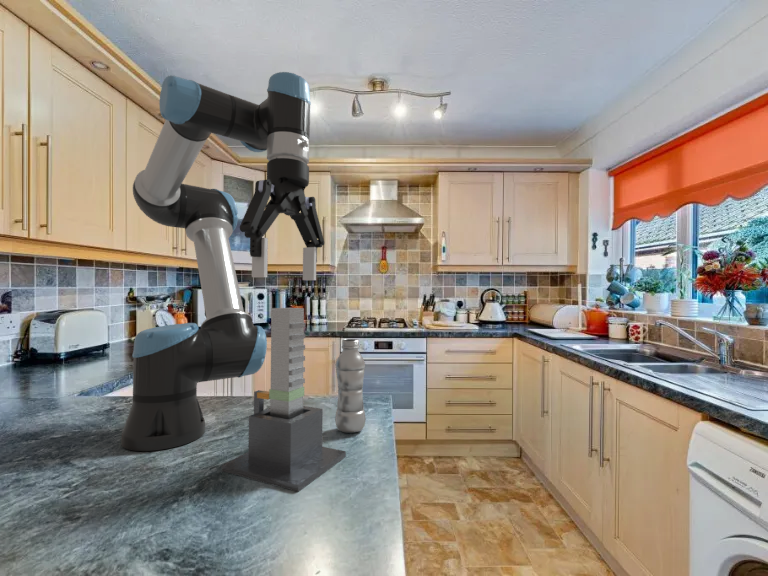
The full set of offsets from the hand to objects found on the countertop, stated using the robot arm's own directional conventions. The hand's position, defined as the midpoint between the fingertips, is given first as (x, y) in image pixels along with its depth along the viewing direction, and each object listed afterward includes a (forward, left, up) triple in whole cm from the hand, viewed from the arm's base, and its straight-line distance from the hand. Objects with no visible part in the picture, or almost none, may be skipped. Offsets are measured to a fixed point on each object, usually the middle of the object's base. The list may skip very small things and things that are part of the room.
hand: (286, 279), depth 70 cm
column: (+1, -1, -25) cm, 25 cm away
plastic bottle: (+3, +18, -33) cm, 38 cm away
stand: (+1, -1, -33) cm, 33 cm away
